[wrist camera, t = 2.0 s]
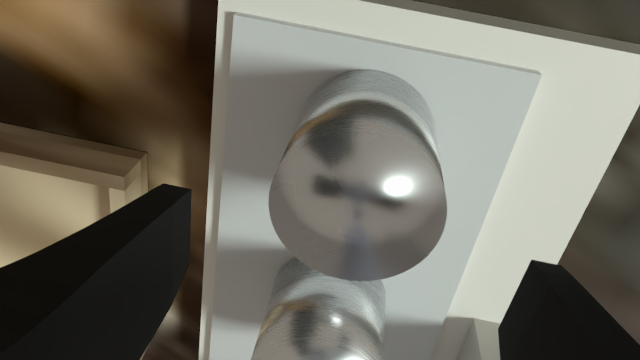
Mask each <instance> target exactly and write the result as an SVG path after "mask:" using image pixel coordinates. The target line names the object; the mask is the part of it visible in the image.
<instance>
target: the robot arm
mask: <svg viewBox="0 0 640 360" xmlns="http://www.w3.org/2000/svg"><path fill="white" fill-rule="evenodd" d="M191 191H192V189H187V188H183V187H178V186H173V185H168V184H162V185H160V186H158V187H156V188H154V189H152V190H151V191H149V192H147V193H145V194H144V195H142V196H140V197H139V198H137V199H135V200H133V201H132V202H130V203H128V204H126V205H125V206H123V207H121V208H120V209H118V210H116V211H114V212H112V213H111V214H109V215H107V216H105V217H103V218H102V219H100V220H98V221H96V222H94V223H93V224H91V225H89V226H87V227H85V228H83V229H81V230H79V231H77V232H75V233H73V234H71V235H69V236H67V237H65V238H63V239H61V240H59V241H57V242H55V243H53V244H51V245H49V246H47V247H45V248H43V249H41V250H39V251H37V252H35V253H33V254H31V255H29V256H26V257H24V258H22V259H20V260H17V261H15V262H13V263H10V264H8V265H6V266H3V267H1V268H0V360H140V359H141V357H142V355H143V353H144V352H145V350H146V348H147V347H148V345H149V343H150V342H151V340H152V338H153V336H154V335H155V333H156V331H157V330H158V328H159V326H160V324H161V323H162V321H163V319H164V317H165V316H166V314H167V312H168V310H169V309H170V307H171V305H172V303H173V301H174V299H175V296H176V294H177V292H178V289H179V287H180V285H181V282H182V280H183V277H184V275H185V272H186V270H187V268H188V265H189V249H190V220H191ZM498 336H499V349H500V360H640V345H639V344H638V343H637V342H636V341H635V340H634V339H633V338H632V337H631V336H630V335H629V334H628V333H627V332H626V331H625V330H624V329H623V328H622V327H621V326H620V325H619V323H618V322H617V321H616V320H615V319H614V318H613V317H612V316H611V315H610V314H609V313H608V312H607V311H606V310H605V309H604V308H603V307H602V306H601V305H600V304H599V303H598V302H597V301H596V300H595V298H594V297H593V296H592V295H591V294H590V293H589V292H588V291H587V290H586V289H585V288H584V287H583V286H582V285H581V284H580V283H579V282H578V281H577V280H576V279H575V278H574V277H573V276H572V275H571V274H570V273H569V272H568V271H567V270H565V269H564V268H563V267H562V266H561V265H556V264H551V263H546V262H541V261H536V260H531V262H530V264H529V266H528V268H527V270H526V272H525V274H524V276H523V278H522V280H521V282H520V285H519V287H518V289H517V291H516V293H515V295H514V297H513V299H512V301H511V303H510V305H509V307H508V309H507V311H506V314H505V316H504V318H503V320H502V322H501V324H500V326H499V328H498Z"/></svg>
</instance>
